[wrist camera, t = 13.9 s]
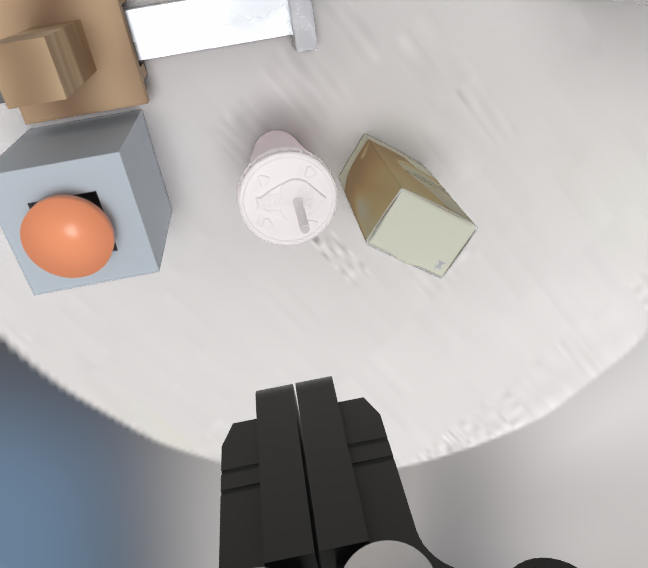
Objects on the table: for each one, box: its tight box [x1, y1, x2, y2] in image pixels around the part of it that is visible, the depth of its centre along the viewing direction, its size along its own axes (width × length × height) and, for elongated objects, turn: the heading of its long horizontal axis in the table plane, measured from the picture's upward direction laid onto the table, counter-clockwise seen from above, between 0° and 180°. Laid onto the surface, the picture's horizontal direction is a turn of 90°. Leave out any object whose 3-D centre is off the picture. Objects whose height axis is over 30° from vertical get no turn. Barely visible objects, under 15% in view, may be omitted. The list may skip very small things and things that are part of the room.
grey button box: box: [0, 109, 172, 295], centre depth 38 cm, size 8×8×10 cm
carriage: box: [0, 0, 149, 125], centre depth 33 cm, size 8×8×11 cm
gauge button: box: [20, 191, 115, 278], centre depth 36 cm, size 5×5×7 cm
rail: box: [0, 0, 318, 103], centre depth 37 cm, size 22×5×3 cm, turn 98°
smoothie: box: [237, 130, 337, 245], centre depth 38 cm, size 6×6×14 cm
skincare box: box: [339, 134, 477, 278], centre depth 41 cm, size 6×4×12 cm
